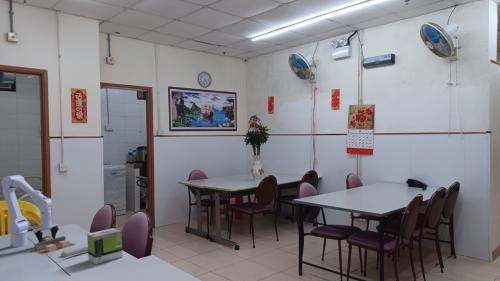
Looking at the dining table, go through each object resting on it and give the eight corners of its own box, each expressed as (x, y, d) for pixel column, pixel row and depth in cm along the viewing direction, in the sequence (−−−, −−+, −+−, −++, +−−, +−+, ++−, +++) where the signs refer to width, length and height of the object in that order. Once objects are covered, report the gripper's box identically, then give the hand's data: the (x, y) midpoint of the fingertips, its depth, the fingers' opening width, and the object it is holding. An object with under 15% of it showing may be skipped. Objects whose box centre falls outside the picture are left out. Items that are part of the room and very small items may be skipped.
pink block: (45, 251, 202) (45, 245, 202) (52, 248, 205) (52, 243, 205) (49, 252, 200) (49, 246, 200) (56, 250, 203) (56, 244, 203)
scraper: (28, 248, 206) (28, 240, 206) (56, 240, 221) (56, 232, 221) (37, 251, 202) (36, 242, 202) (65, 242, 216) (65, 234, 216)
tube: (64, 254, 190) (107, 241, 210) (59, 249, 193) (102, 237, 213) (63, 262, 191) (106, 249, 211) (58, 257, 194) (101, 245, 214)
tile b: (59, 247, 209) (58, 241, 209) (65, 245, 212) (65, 240, 212) (63, 248, 207) (62, 242, 207) (69, 246, 210) (69, 241, 210)
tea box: (115, 253, 201) (114, 227, 200) (122, 257, 194) (122, 230, 193) (87, 260, 190) (86, 233, 190) (94, 265, 183) (94, 236, 183)
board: (25, 252, 205) (25, 249, 205) (58, 242, 223) (58, 240, 223) (42, 257, 196) (42, 254, 196) (76, 246, 214) (76, 244, 213)
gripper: (37, 222, 203) (38, 246, 203) (61, 217, 216) (62, 239, 216) (30, 221, 207) (31, 244, 207) (55, 215, 219) (55, 237, 219)
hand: (46, 241), depth 212 cm, fingers open, 7 cm apart
